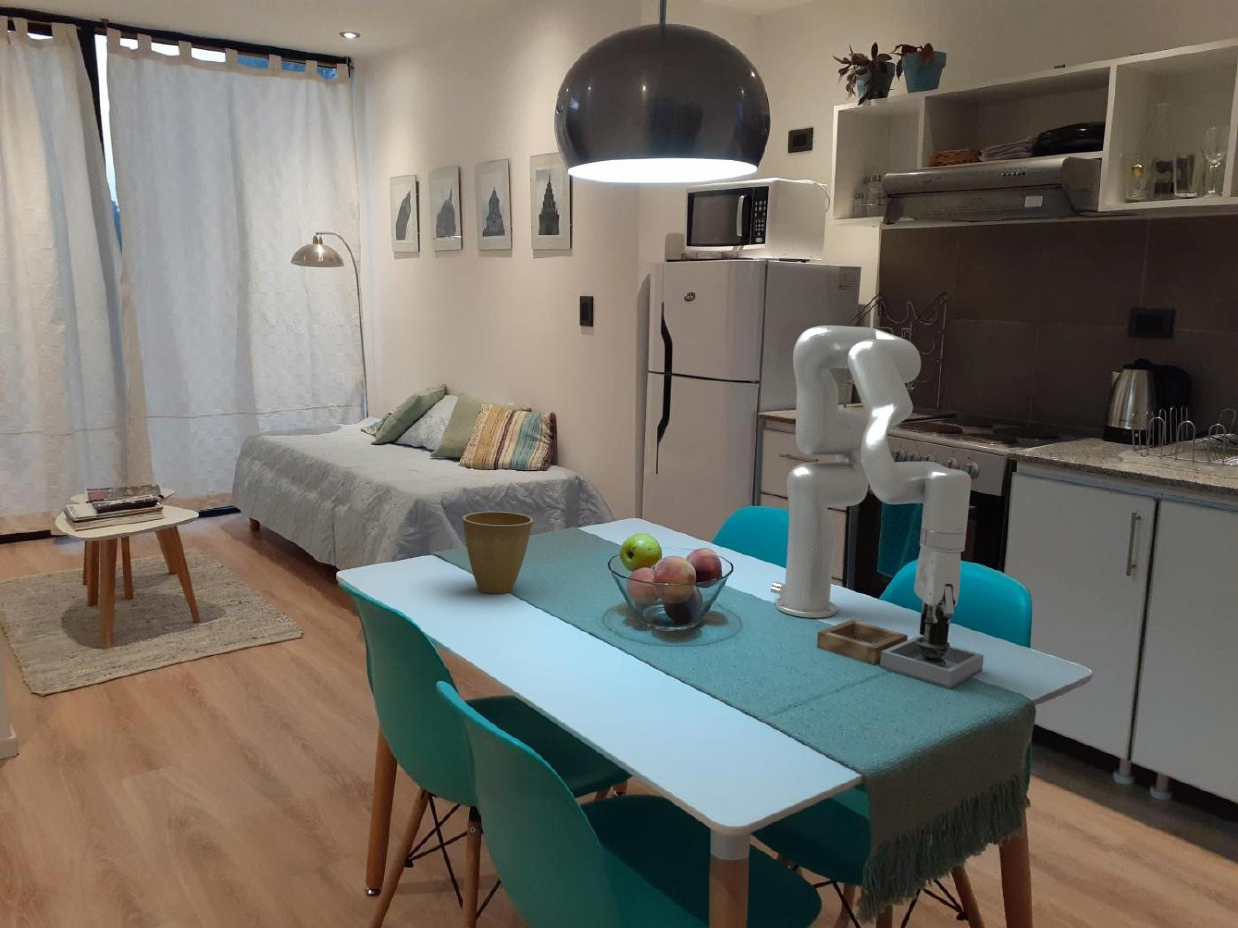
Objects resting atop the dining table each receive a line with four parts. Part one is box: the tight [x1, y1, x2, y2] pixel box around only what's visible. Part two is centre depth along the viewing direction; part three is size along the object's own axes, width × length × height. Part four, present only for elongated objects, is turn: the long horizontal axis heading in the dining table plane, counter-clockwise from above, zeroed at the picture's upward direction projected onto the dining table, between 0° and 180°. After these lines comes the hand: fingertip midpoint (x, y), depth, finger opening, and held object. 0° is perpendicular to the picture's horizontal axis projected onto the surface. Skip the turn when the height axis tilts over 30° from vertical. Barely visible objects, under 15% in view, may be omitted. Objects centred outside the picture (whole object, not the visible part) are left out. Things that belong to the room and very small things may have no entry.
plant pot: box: [462, 511, 533, 595], centre depth 212 cm, size 15×15×16 cm
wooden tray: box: [816, 619, 909, 665], centre depth 184 cm, size 12×12×3 cm
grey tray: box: [879, 636, 985, 689], centre depth 174 cm, size 13×13×3 cm
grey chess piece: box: [916, 602, 951, 667], centre depth 174 cm, size 6×6×12 cm
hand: (933, 638), depth 174 cm, fingers closed on grey chess piece, 4 cm apart
